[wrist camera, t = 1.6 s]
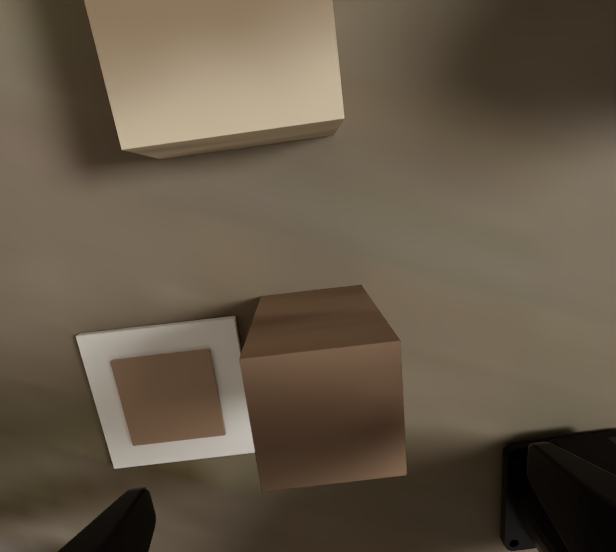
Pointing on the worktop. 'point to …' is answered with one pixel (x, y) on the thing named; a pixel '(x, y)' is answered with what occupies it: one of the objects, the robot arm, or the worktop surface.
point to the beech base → (217, 72)
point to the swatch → (169, 391)
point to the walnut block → (323, 389)
